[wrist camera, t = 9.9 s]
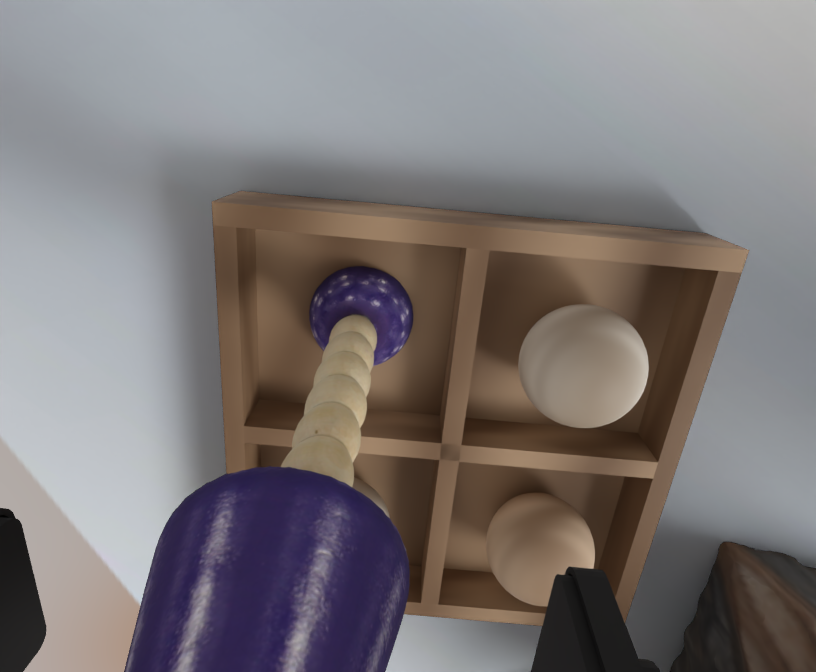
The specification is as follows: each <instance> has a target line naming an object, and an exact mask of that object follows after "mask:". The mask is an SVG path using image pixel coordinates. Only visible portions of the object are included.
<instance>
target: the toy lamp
mask: <svg viewBox="0 0 816 672" xmlns="http://www.w3.org/2000/svg"><path fill="white" fill-rule="evenodd" d="M309 320H310V326H311V330H312V333H313V336H314V338H315V340H316V342H317V343H318V345H319V346H320V347H321V349H322V350H323V351H324V353H323V356H322V363H321V364H320V366H319V367H318V369H317V371H316V374H315V377H314V383H313V388H312V390H311V392H310V393H309V395H308V397H307V400H306V404H305V410H304V416H303V418H302V419H301V420H300V422H299V423H298V425H297V428H296V430H295V433H294V436H293V441H292V450H291V451H290V452H289V454H288V455H287V456H286V458H285V460H284V461H283V463H282V465H281V467H272V466H269V467H256V468H251V469H247V470H242V471H238V472H235V473H230V474H225V475H223V476H221V477H219V478H217V479H215V480H213V481H211V482H209V483H206V484H205V485H204V486H202V487H201V488H199V489H197V490H196V491H195V492H194V493H192V494H191V495H189V496H188V497H186V498H185V499H184V501H183V502H182V503H181V504H180V505H179V507H178V508H177V509H176V510H175V511H174V512H173V513H172V515H171V517H170V518H169V520H168V522H167V523H166V525H165V527H164V529H163V532H162V534H161V536H160V538H159V541H158V544H157V547H156V550H155V553H154V557H153V561H152V564H151V568H150V572H149V575H148V579H147V583H146V587H145V590H144V594H143V598H142V602H141V606H140V610H139V614H138V618H137V622H136V627H135V630H134V634H133V639H132V643H131V646H130V650H129V654H128V658H127V662H126V666H125V671H124V672H385V671H386V668H387V665H388V662H389V659H390V656H391V653H392V650H393V647H394V643H395V640H396V637H397V634H398V631H399V628H400V625H401V622H402V618H403V615H404V612H405V608H406V603H407V599H408V594H409V585H410V583H409V579H410V571H409V560H408V557H407V553H406V548H405V546H404V544H403V541H402V539H401V536H400V534H399V532H398V530H397V528H396V527H395V525H394V524H393V523H392V521H391V519H390V518H389V517H388V516H387V515H386V514H385V513H384V511H383V510H382V509H381V508H380V507H379V506H377V505H376V504H375V503H374V502H373V501H372V500H371V499H370V498H368V497H367V496H365V495H364V494H363V493H361V492H359V491H356V490H355V489H354V488H352V487H353V482H354V467H353V462H354V460H355V458H356V456H357V454H358V451H359V448H360V444H361V431H360V428H361V426H362V424H363V422H364V420H365V416H366V412H367V400H366V397H367V395H368V393H369V389H370V385H371V375H370V372H371V370H372V367H373V366H375V365H379V364H381V363H383V362H385V361H387V360H389V359H390V358H392V357H393V356H395V355H396V354H397V353H398V352H399V351H400V350H401V349H402V347H403V346H404V345H405V343H406V341H407V340H408V338H409V335H410V333H411V329H412V326H413V307H412V303H411V300H410V297H409V295H408V293H407V292H406V290H405V289H404V287H403V286H402V285H401V283H400V282H399V281H398V280H397V279H395V278H394V277H393V276H391V275H389V274H388V273H386V272H383V271H381V270H379V269H376V268H370V267H365V266H354V267H347V268H344V269H341V270H338V271H336V272H334V273H333V274H331V275H329V276H328V277H327V278H326V279H325V280H324V281H323V282H322V283H321V284H320V285H319V286H318V288H317V289H316V291H315V292H314V295H313V298H312V301H311V304H310V310H309Z"/></svg>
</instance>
